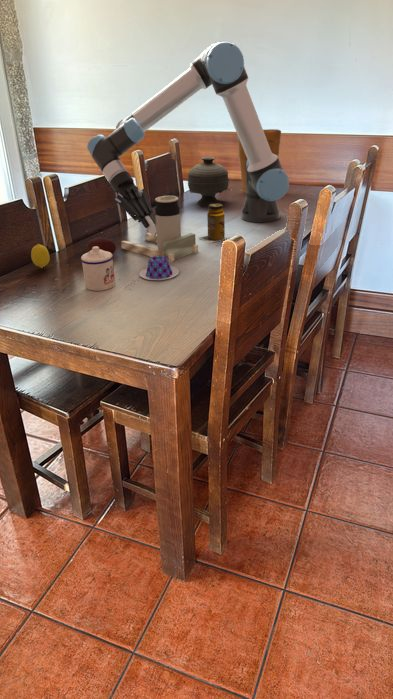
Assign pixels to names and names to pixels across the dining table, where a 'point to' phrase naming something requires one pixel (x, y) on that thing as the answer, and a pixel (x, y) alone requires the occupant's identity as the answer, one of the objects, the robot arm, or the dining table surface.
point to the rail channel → (165, 247)
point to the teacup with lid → (98, 269)
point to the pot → (208, 180)
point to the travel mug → (167, 219)
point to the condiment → (215, 224)
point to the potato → (102, 244)
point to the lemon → (40, 255)
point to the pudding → (158, 269)
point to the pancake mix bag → (274, 142)
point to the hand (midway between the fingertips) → (155, 234)
